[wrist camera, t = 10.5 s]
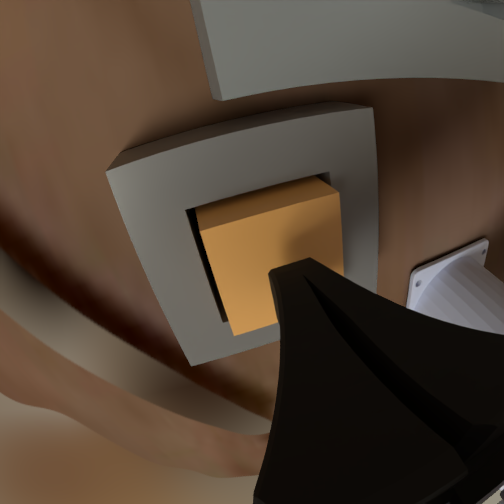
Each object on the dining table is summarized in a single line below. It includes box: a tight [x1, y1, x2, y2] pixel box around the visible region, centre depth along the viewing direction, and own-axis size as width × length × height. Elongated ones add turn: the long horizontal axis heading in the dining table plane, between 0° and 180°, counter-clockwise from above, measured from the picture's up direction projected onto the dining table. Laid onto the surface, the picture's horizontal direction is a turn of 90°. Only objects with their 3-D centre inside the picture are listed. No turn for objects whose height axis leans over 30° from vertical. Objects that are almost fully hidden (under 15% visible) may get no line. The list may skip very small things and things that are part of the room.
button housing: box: [106, 101, 379, 366], centre depth 13 cm, size 9×9×3 cm
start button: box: [195, 175, 344, 336], centre depth 12 cm, size 4×4×3 cm
